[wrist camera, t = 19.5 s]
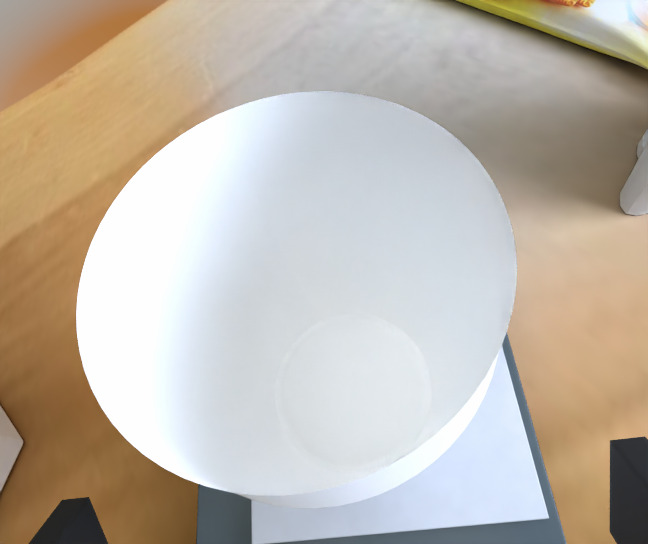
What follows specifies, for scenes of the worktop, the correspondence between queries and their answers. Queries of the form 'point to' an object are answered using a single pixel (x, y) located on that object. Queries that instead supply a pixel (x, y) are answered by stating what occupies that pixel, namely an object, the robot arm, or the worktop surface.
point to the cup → (299, 299)
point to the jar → (7, 446)
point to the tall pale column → (637, 183)
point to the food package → (583, 23)
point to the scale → (423, 492)
